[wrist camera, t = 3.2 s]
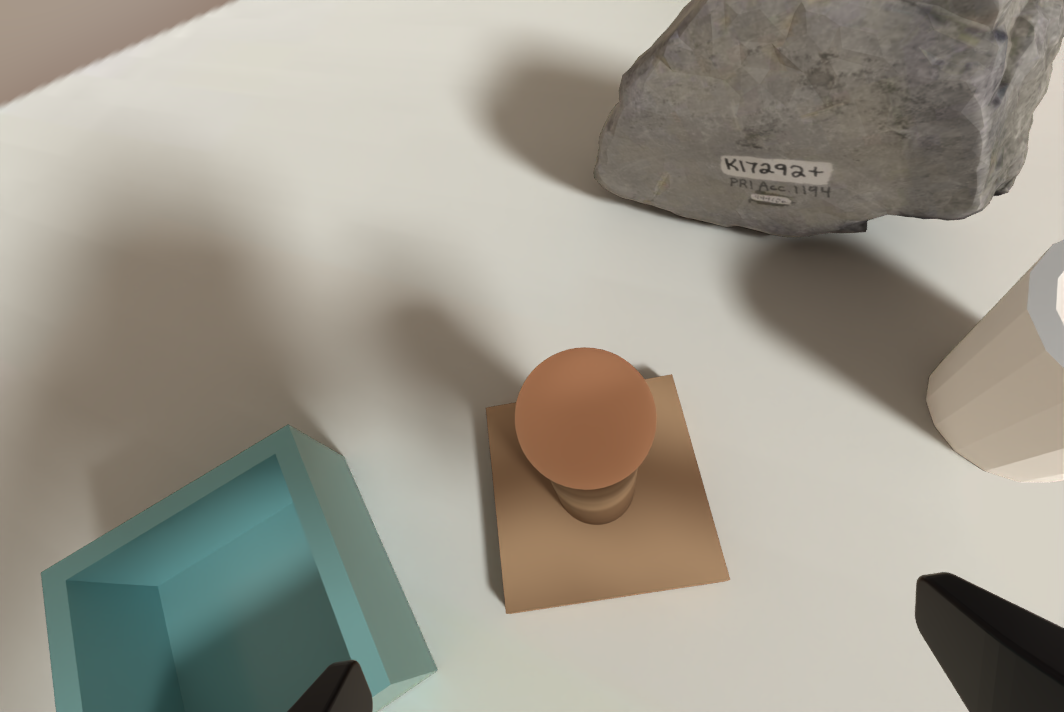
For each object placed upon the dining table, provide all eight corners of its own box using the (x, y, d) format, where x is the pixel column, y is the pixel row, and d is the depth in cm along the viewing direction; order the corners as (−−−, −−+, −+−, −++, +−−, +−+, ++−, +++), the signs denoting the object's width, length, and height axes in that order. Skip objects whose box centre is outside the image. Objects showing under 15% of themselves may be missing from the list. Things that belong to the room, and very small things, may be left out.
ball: (611, 528, 14) (610, 502, 11) (502, 459, 15) (471, 417, 12) (674, 417, 15) (690, 363, 12) (567, 361, 16) (555, 298, 13)
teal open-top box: (437, 670, 19) (391, 684, 15) (196, 836, 18) (76, 900, 14) (343, 456, 23) (288, 424, 19) (143, 580, 22) (41, 572, 18)
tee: (725, 581, 19) (777, 564, 13) (511, 613, 20) (462, 613, 13) (669, 383, 23) (689, 297, 17) (490, 415, 23) (445, 343, 17)
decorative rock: (954, 201, 25) (1346, -277, 12) (936, 316, 22) (1400, -120, 9) (625, 137, 30) (633, -250, 16) (581, 226, 27) (549, -143, 14)
